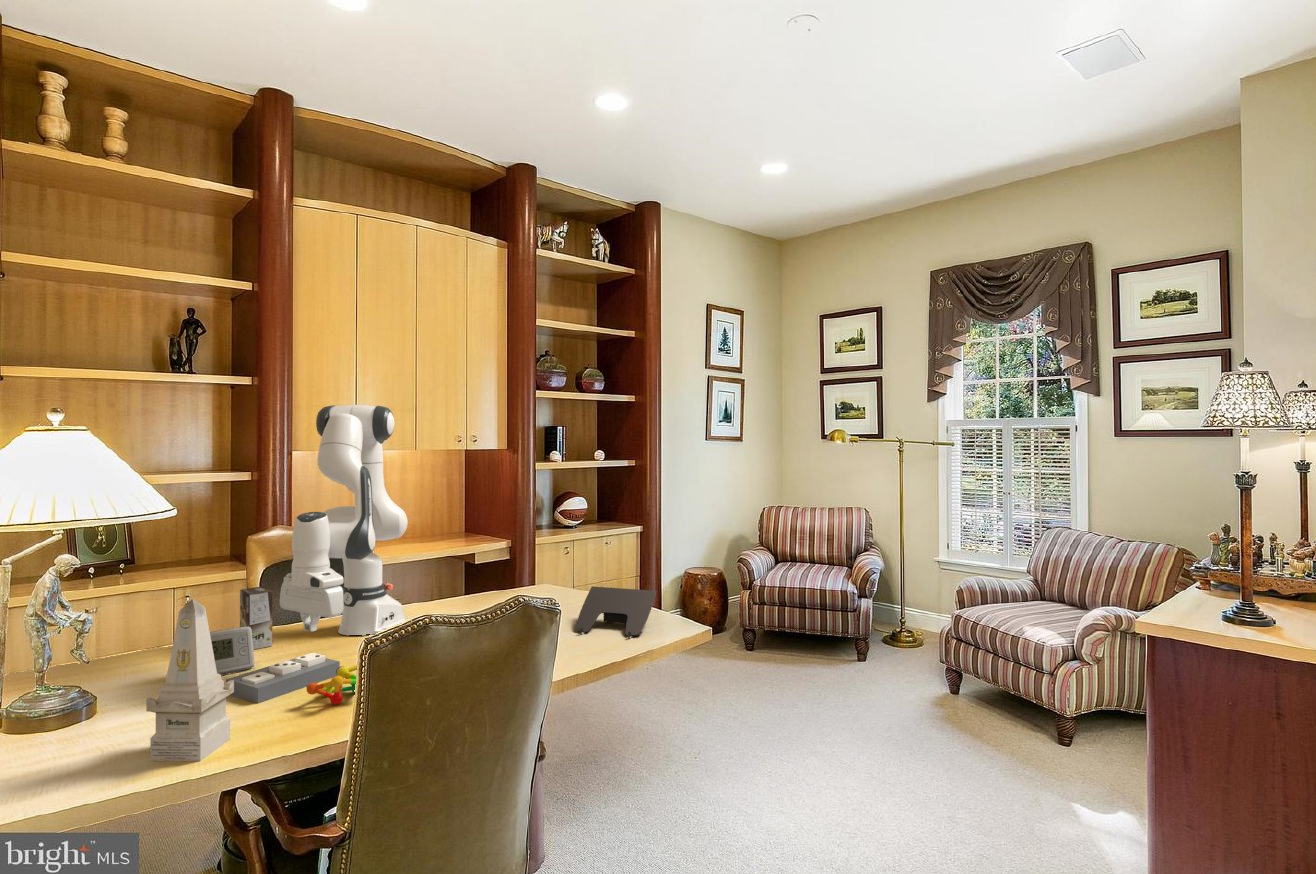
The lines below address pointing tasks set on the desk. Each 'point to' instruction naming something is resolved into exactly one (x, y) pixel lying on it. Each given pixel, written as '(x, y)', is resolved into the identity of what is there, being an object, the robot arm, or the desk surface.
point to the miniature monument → (190, 695)
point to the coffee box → (257, 614)
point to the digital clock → (233, 649)
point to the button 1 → (258, 677)
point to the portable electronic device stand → (617, 608)
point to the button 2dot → (310, 659)
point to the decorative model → (335, 685)
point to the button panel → (283, 681)
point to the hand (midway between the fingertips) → (310, 630)
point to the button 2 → (284, 667)
